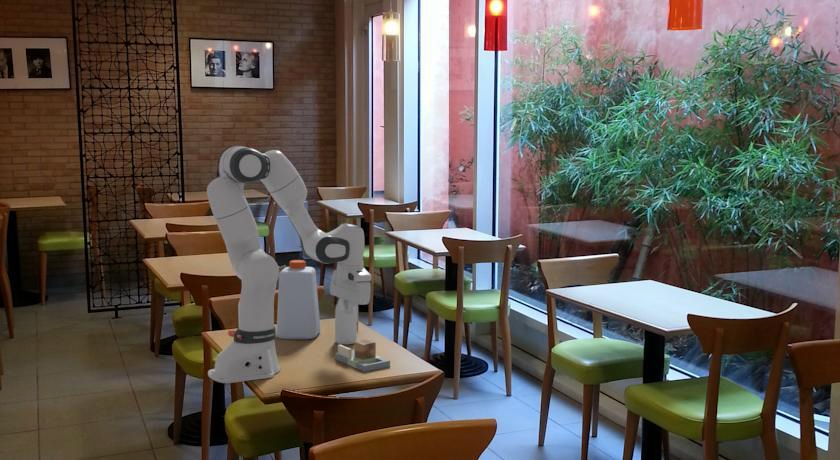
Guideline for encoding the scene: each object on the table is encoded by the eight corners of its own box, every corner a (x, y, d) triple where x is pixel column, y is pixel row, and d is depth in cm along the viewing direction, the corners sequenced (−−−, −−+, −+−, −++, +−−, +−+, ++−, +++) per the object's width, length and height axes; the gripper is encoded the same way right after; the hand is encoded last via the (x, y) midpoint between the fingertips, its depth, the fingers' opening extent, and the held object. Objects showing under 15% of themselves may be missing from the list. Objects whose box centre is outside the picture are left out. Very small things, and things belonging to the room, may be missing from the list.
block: (363, 359, 272) (363, 344, 272) (354, 356, 276) (354, 341, 276) (375, 357, 275) (375, 342, 275) (366, 353, 279) (366, 339, 279)
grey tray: (364, 372, 266) (364, 356, 265) (335, 358, 280) (335, 344, 279) (390, 366, 272) (390, 351, 271) (360, 354, 286) (360, 339, 285)
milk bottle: (359, 344, 299) (359, 289, 296) (338, 346, 296) (338, 290, 294) (353, 338, 306) (352, 285, 304) (332, 340, 303) (332, 286, 301)
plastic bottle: (282, 329, 319) (281, 257, 315) (321, 330, 318) (321, 258, 314) (274, 340, 304) (272, 264, 300) (315, 340, 303) (314, 264, 300)
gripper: (326, 267, 284) (324, 307, 285) (358, 277, 268) (356, 319, 269) (342, 267, 288) (340, 306, 289) (374, 276, 271) (372, 318, 273)
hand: (348, 313), depth 279 cm, fingers closed
